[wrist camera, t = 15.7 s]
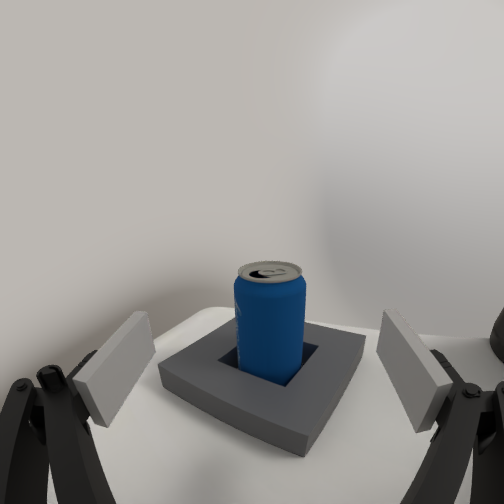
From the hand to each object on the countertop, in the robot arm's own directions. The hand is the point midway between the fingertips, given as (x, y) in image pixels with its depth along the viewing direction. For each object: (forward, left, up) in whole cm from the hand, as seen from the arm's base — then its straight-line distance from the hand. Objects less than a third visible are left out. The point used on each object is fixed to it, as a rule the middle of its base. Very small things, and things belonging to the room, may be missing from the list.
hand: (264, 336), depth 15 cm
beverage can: (+5, -9, -12) cm, 16 cm away
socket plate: (+5, -10, -12) cm, 16 cm away
